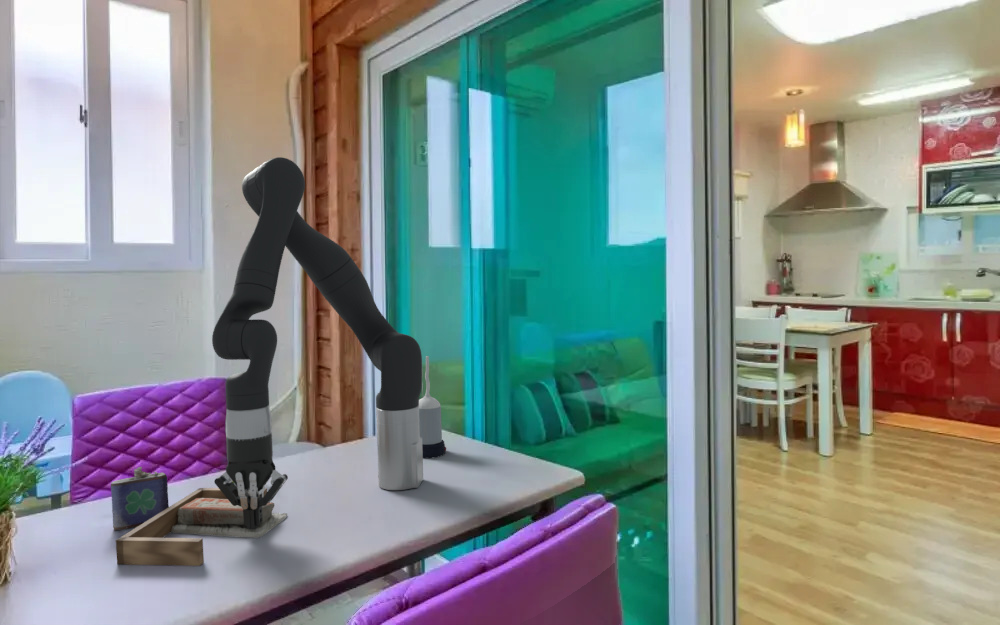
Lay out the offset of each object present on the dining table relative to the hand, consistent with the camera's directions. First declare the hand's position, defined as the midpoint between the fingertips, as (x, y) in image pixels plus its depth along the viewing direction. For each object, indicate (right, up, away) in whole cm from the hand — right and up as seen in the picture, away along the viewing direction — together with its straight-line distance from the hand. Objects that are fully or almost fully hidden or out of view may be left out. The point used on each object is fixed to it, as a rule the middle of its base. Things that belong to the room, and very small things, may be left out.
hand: (253, 527), depth 112 cm
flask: (-24, -2, +7) cm, 25 cm away
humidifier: (+26, +2, +49) cm, 55 cm away
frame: (-10, -2, +1) cm, 10 cm away
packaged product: (-6, -2, +5) cm, 9 cm away
